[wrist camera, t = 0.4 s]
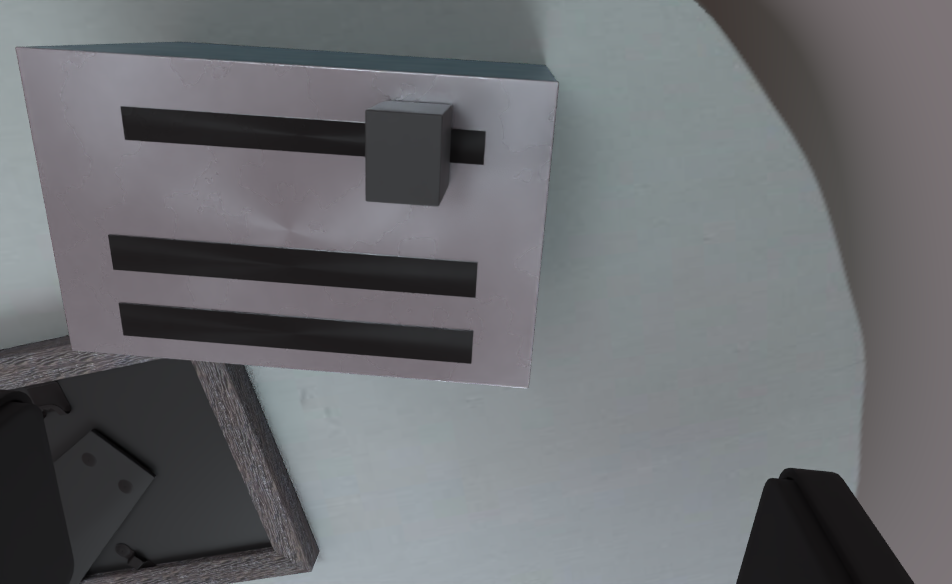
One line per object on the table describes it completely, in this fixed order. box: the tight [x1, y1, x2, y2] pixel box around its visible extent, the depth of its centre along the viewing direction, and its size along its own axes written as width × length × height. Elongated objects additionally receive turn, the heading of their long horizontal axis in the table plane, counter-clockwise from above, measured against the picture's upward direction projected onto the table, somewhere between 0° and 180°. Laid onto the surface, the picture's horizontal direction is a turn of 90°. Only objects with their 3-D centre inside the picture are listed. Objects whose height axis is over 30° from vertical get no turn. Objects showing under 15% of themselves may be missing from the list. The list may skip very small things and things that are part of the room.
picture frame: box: [0, 336, 319, 584], centre depth 37 cm, size 16×2×21 cm
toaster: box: [16, 42, 559, 388], centre depth 26 cm, size 10×16×10 cm, turn 87°
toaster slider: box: [365, 100, 452, 207], centre depth 18 cm, size 2×2×2 cm
